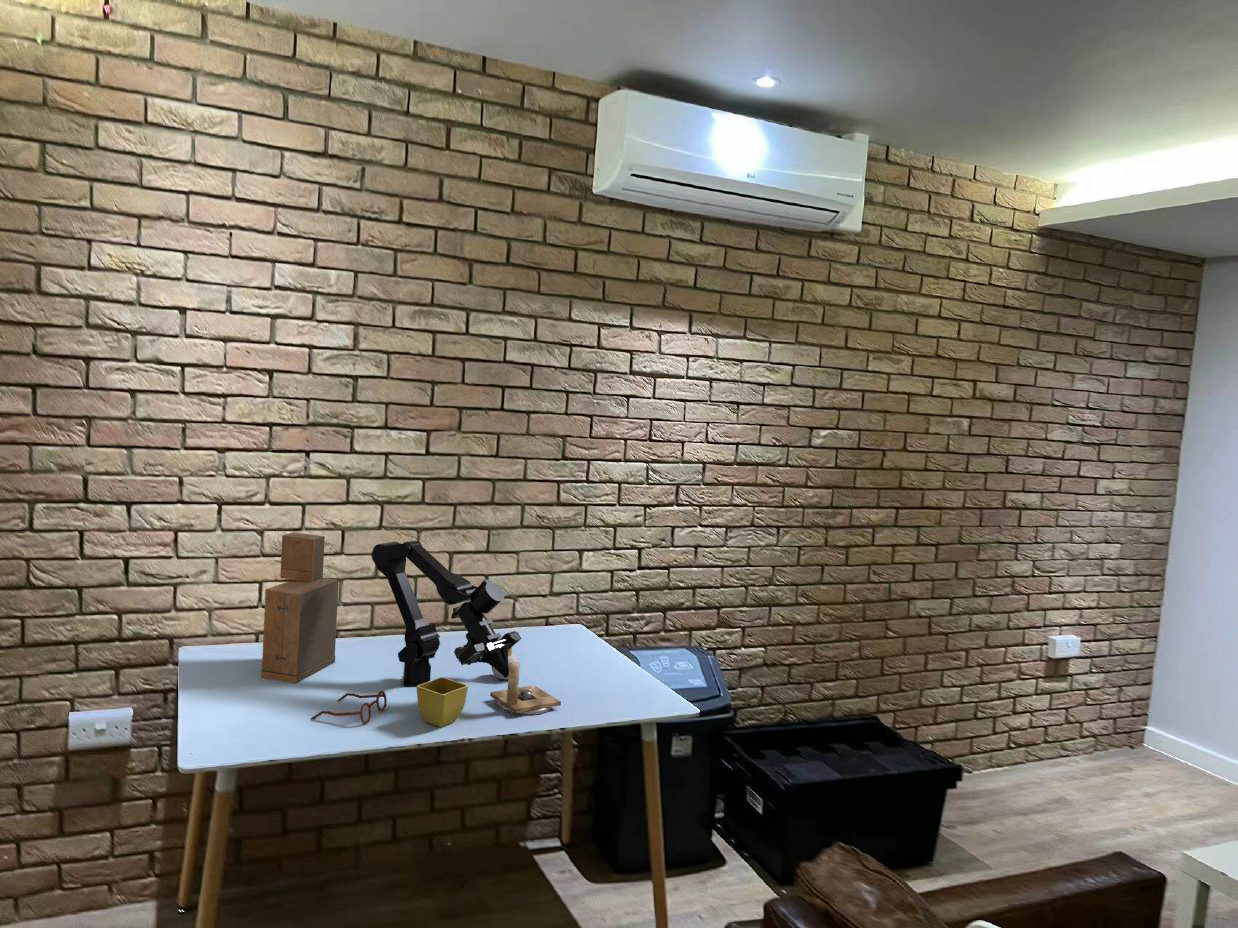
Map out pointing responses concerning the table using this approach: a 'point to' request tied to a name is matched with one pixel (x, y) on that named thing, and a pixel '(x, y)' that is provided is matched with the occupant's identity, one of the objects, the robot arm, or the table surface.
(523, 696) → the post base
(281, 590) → the stacked wooden blocks
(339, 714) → the glasses
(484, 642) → the robot arm
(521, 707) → the flange plate
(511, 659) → the perfume bottle
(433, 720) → the flower pot
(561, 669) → the table surface
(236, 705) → the table surface
